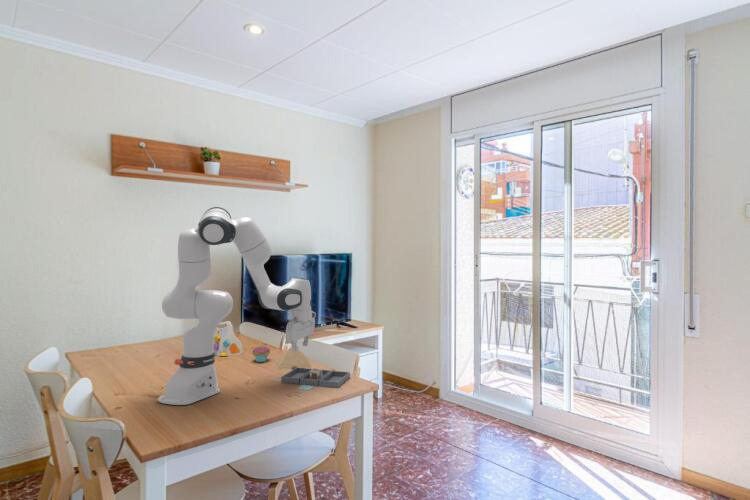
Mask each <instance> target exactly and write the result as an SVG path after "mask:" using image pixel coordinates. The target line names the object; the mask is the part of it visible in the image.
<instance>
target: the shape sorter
mask: <svg viewBox="0 0 750 500" xmlns="http://www.w3.org/2000/svg"><path fill="white" fill-rule="evenodd" d="M224 325H226V326H224ZM218 326H224V327H221V328H220V327H217V328H216V331H215V335H214V353H215V356H217V357H218V356H219V357H231V356H233V357H234V356H238V355H242V354H243V345H242V342H241V340H239V339H238V338H237V337H236V334H235V331H234V326H233V324H232V322H231V321H230V320H227V321H221V322H220V323H219V325H218Z"/></svg>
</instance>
